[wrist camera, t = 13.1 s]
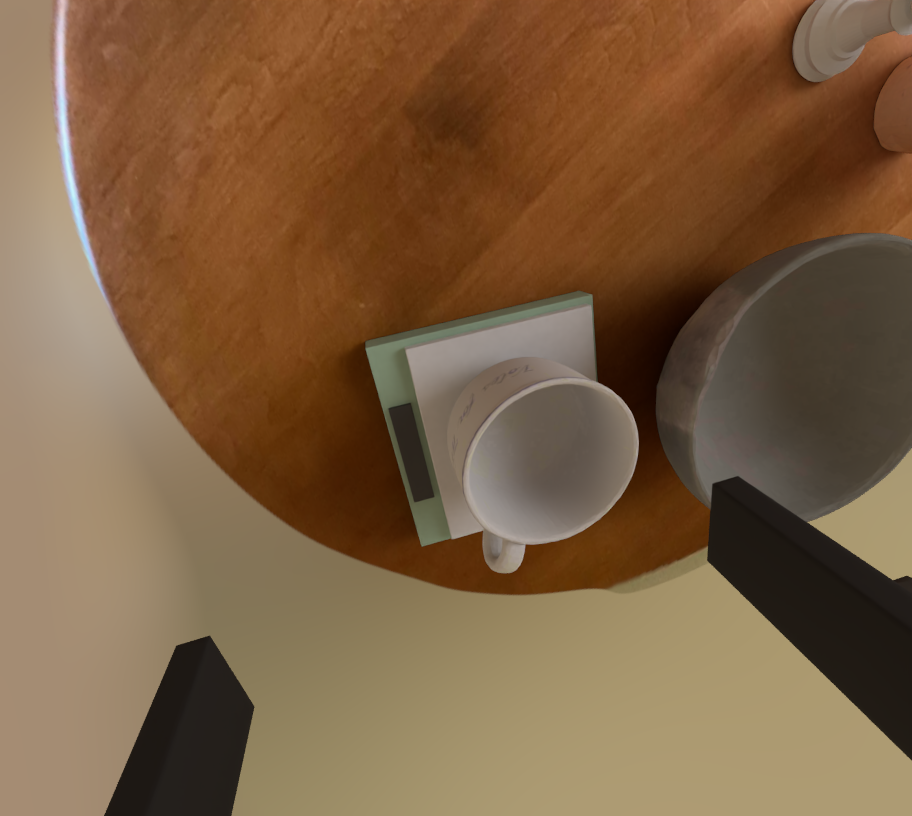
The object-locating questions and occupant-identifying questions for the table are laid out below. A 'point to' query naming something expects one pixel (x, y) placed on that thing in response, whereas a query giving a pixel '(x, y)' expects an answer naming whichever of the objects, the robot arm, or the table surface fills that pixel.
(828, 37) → the chess piece
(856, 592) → the robot arm
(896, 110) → the potted plant
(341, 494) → the table surface
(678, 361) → the bowl
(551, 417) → the teacup
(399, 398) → the scale
